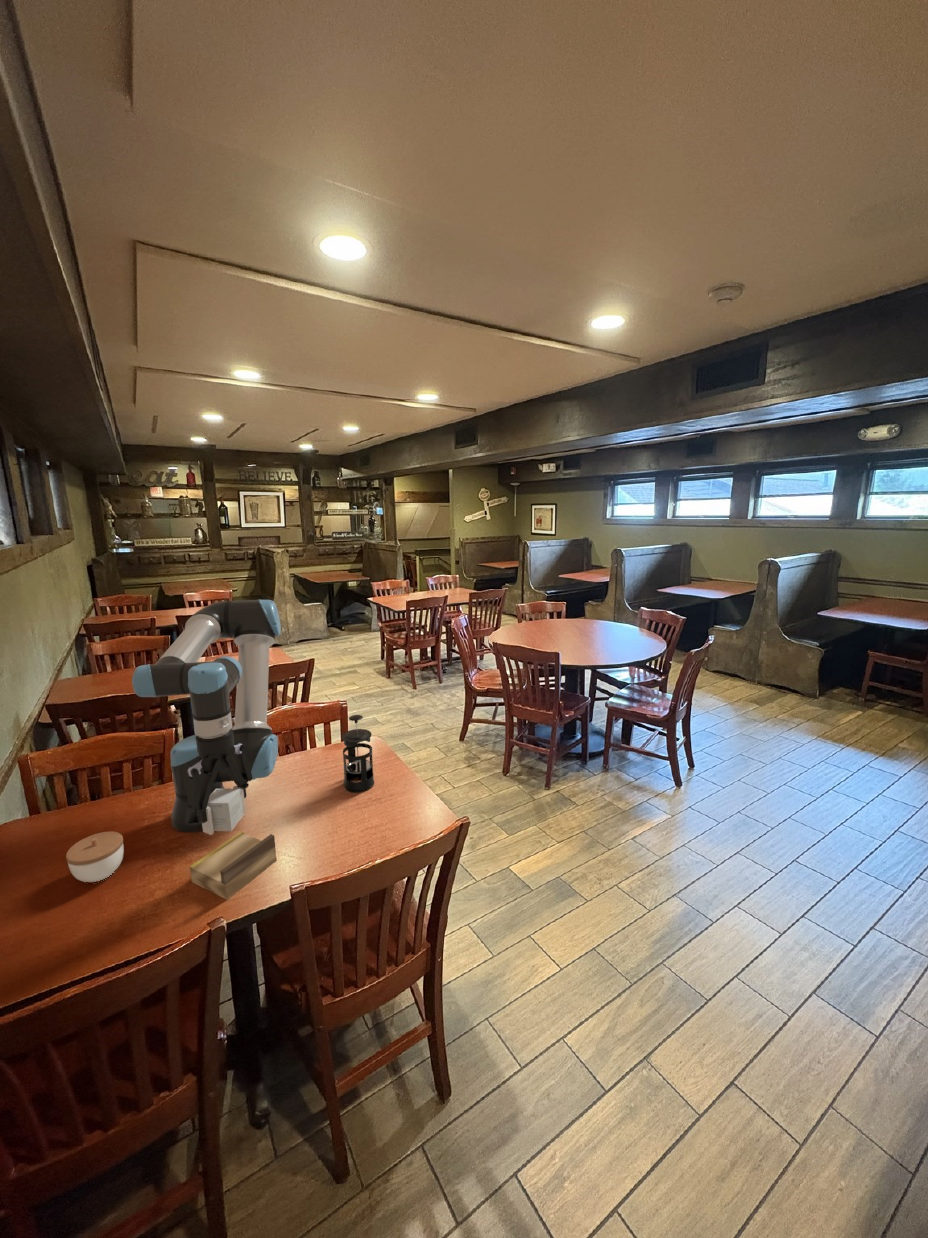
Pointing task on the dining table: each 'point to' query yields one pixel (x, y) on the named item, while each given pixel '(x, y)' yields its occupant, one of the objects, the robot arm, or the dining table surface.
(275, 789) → the dining table surface
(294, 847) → the dining table surface
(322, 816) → the dining table surface
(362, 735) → the french press
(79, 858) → the lidded jar
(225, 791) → the product box
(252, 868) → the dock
